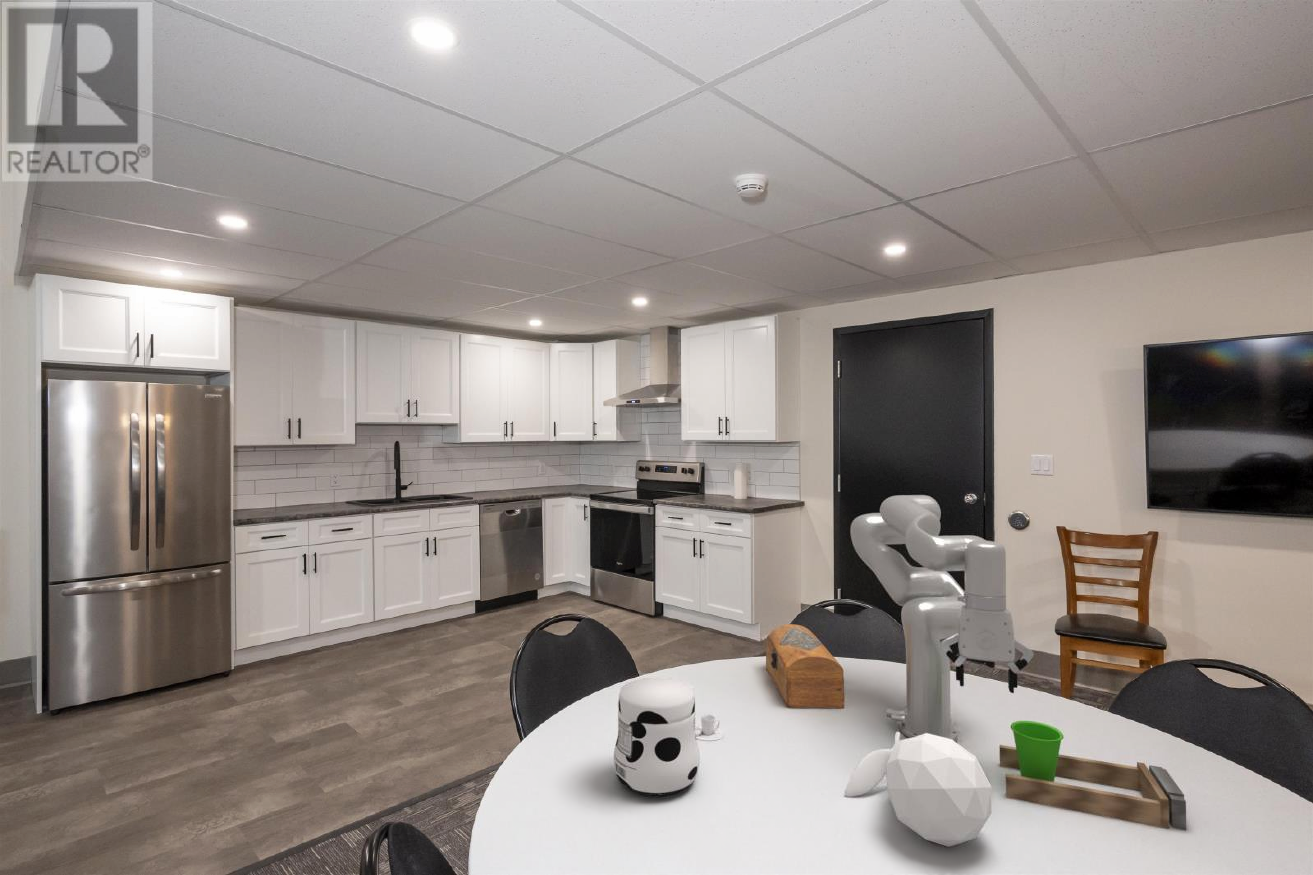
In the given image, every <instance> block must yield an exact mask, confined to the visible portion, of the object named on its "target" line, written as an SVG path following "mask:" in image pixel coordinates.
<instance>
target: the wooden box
mask: <svg viewBox="0 0 1313 875" xmlns="http://www.w3.org/2000/svg"><path fill="white" fill-rule="evenodd" d="M765 668H766V672H767V673H768V675H769V677H770V679H771V680H772V682H773V684H774V686H775V687H776V689H777V691H778V692H779V695H780V697H781V698H782V700H783V702H784V704H785V706H786V707H787V708H788V709H844V708H845V696H846V695H845V677H844V676H845V675H844V668H843V667H842V665H841V664H840V663H839V661H837V659H836V658H835V657H834V656H833V655H832V653H831V652H829V650H828V649H827V648H826V646H825V645H824V644H823V643H822V642H821V641H820V640H819V638H817V636H816V635H815V634H814V633H813V632H812V631H811V630H810V629H808V627H807V628H806V627H805V626H803V625H799V624H791V623H789V624H787V623H786V624H784V625H780V626H778V627H776V628H774V630H772V631H771V632H770V633H768V634H767V636H766V644H765Z"/></svg>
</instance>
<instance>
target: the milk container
mask: <svg viewBox="0 0 1313 875" xmlns="http://www.w3.org/2000/svg"><path fill="white" fill-rule="evenodd" d="M694 691H695V690H694V688H693V687H692V686H691V685H690V683H688V682H687V683H686V682H685V681H682V680H679V679H675V678H671V677H645V678H639V679H635V680H631V681H629V682H626V683H625V684H624V685H622V686H621V687H620V691H619V695H618V705H617V708H618V712H617V718H618V720H617V722H618V726H617V727H618V732H617V738H616V743H615V745H614V750H613V767H614V770H615V775H616V777H617V779H618V780H619V782H620V784H622V785H623V786H624V787H626V788H628V789H629V790H630V791H633V792H636V793H639V794H641V795H649V796H663V795H665V796H666V795H671V794H674V793H678V792H681V791H683V790H684V789H686V788H688V787H689V786H691V785H692V784H693V783H694V782H695V780H696V778H697V777H698V773H699V768H700V763H701V762H700V761H701V760H700V759H701V756H700V749H699V748H700V747H699V744H698V741H697V740H698V739H696V735H695V726H696V710H695V709H696V698H695V692H694Z"/></svg>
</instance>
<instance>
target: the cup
mask: <svg viewBox="0 0 1313 875" xmlns="http://www.w3.org/2000/svg"><path fill="white" fill-rule="evenodd" d="M1010 729H1011V730H1012V733H1013V738H1014V744H1015V747H1016V750H1017V756H1018V761H1019V767H1020V770H1019V772H1020V776H1022V777H1028V778H1033V779H1039V780H1045V781H1050V782H1055V777H1056V776H1055V772H1056V767H1057V761H1058V755H1060V749H1061V744H1062V740H1063V739H1065V738H1064V734H1063V732H1062V731H1061V730H1059V728H1056V727H1054V726H1052V725H1049V724H1047V723H1044V722H1043V723H1042V722H1037V721H1032V720H1018V721H1014V722H1012V723H1011V725H1010Z"/></svg>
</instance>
